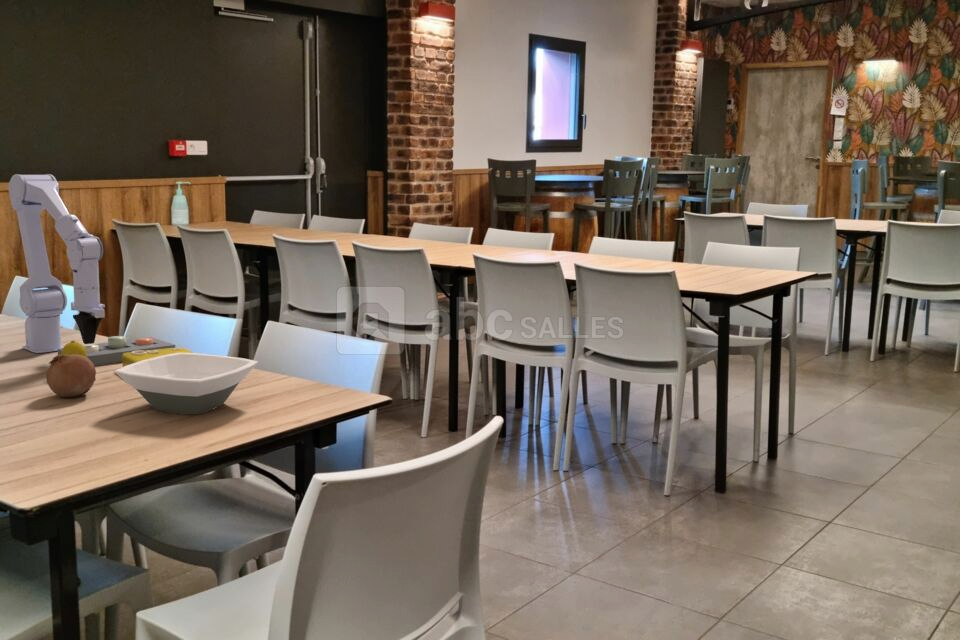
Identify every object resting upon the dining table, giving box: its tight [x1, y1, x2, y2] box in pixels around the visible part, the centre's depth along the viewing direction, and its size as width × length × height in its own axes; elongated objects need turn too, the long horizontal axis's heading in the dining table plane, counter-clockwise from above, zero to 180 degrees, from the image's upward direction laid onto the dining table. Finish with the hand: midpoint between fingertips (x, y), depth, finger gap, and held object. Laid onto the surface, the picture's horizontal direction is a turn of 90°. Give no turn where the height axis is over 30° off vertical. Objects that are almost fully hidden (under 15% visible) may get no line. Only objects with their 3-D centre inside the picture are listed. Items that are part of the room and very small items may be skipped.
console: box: [57, 336, 176, 367], centre depth 236 cm, size 13×24×2 cm, turn 135°
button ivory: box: [82, 343, 99, 353], centre depth 231 cm, size 4×4×3 cm
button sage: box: [107, 335, 127, 350], centre depth 236 cm, size 4×4×3 cm
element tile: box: [121, 346, 195, 368], centre depth 221 cm, size 15×15×5 cm
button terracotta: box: [134, 337, 153, 346], centre depth 241 cm, size 4×4×3 cm
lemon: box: [61, 340, 87, 357], centre depth 215 cm, size 6×6×8 cm
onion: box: [45, 354, 97, 399], centre depth 197 cm, size 10×9×10 cm
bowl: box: [114, 352, 259, 415], centre depth 191 cm, size 22×23×8 cm
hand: (88, 343), depth 231 cm, fingers closed
